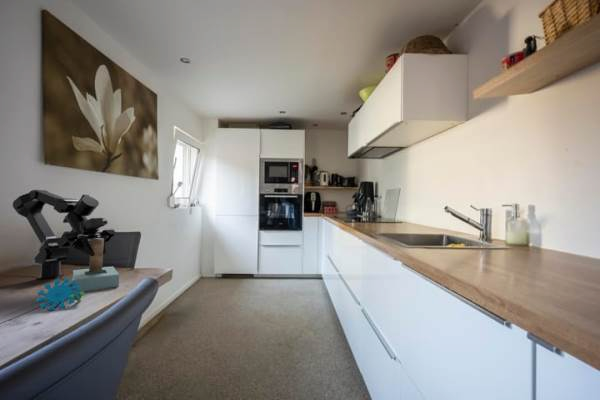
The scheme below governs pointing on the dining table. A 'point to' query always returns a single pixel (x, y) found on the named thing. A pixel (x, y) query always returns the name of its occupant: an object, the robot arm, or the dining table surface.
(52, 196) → the robot arm
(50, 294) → the gear
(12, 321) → the dining table surface
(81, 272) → the housing
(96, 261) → the peg
